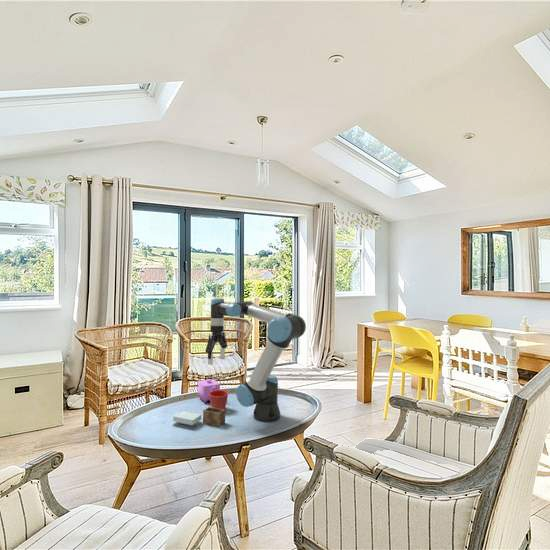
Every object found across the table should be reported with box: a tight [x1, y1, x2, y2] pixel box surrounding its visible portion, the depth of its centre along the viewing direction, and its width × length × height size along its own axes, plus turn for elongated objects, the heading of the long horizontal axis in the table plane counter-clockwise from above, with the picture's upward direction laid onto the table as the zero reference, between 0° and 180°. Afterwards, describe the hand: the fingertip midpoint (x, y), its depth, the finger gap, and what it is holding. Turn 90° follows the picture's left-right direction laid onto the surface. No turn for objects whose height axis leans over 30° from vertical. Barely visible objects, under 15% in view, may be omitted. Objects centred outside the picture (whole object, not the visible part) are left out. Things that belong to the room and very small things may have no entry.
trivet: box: [172, 420, 203, 430], centre depth 195 cm, size 12×9×1 cm
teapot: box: [197, 378, 221, 404], centre depth 232 cm, size 20×10×12 cm, turn 28°
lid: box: [172, 410, 202, 426], centre depth 196 cm, size 12×8×4 cm, turn 68°
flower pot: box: [209, 390, 229, 411], centre depth 217 cm, size 11×11×10 cm
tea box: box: [202, 406, 226, 428], centre depth 197 cm, size 10×6×7 cm, turn 68°
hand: (216, 361), depth 214 cm, fingers open, 13 cm apart
